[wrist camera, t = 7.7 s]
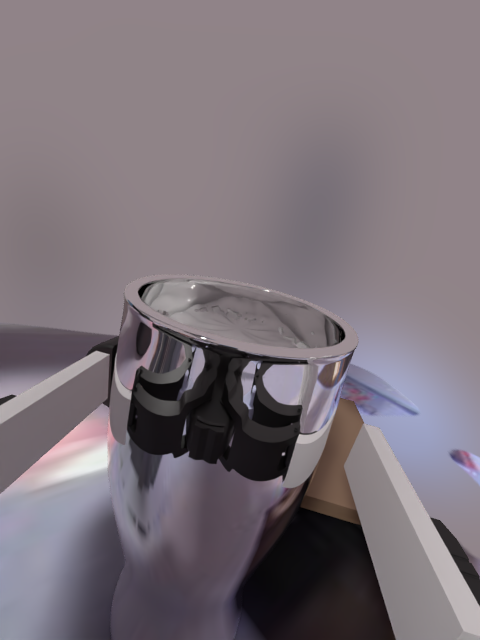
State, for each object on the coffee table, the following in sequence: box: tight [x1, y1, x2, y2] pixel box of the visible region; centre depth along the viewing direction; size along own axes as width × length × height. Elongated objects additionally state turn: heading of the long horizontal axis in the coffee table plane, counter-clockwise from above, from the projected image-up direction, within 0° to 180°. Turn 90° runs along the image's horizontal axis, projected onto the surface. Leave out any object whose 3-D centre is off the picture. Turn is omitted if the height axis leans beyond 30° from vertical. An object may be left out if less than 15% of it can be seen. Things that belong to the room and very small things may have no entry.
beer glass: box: [107, 274, 358, 640], centre depth 10 cm, size 7×7×15 cm
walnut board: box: [300, 398, 364, 526], centre depth 24 cm, size 14×14×1 cm
